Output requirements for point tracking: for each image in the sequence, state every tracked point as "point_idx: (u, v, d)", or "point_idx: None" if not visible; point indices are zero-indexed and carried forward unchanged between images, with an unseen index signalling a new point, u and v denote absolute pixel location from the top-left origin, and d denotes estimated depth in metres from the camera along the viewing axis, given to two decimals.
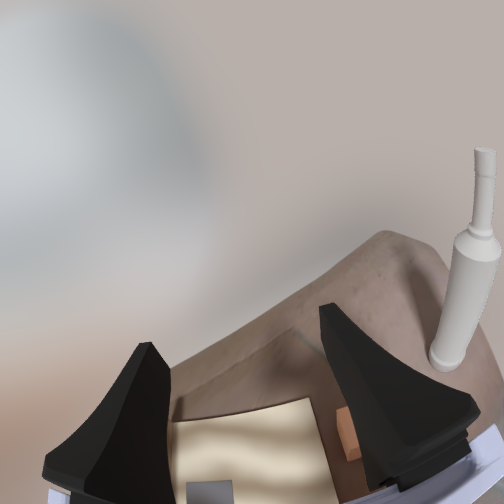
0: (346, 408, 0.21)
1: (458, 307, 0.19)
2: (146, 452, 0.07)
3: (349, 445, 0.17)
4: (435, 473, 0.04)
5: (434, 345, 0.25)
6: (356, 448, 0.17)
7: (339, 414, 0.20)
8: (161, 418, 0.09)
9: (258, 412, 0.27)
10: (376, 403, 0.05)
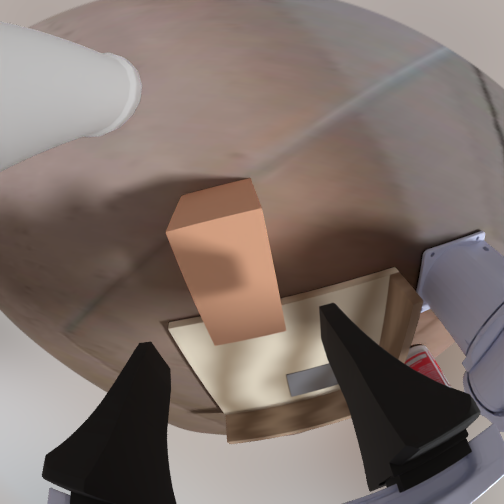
0: (213, 335, 0.16)
1: (8, 153, 0.04)
2: (146, 452, 0.07)
3: (279, 331, 0.16)
4: (436, 473, 0.04)
5: None
6: None
7: (223, 342, 0.16)
8: (161, 418, 0.09)
9: (196, 369, 0.24)
10: (376, 403, 0.05)
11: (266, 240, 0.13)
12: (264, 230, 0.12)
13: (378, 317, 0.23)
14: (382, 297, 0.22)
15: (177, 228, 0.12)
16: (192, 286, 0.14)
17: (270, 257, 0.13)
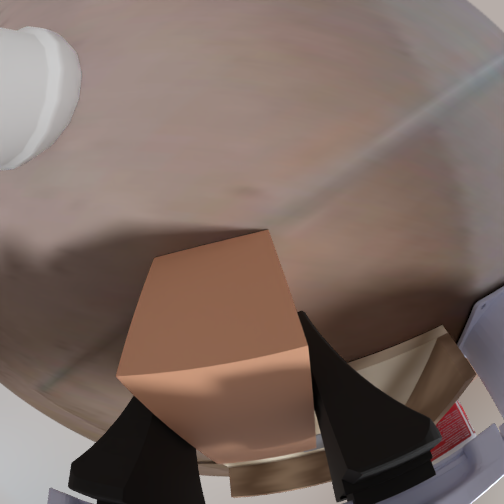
0: (216, 459, 0.09)
1: None
2: (178, 453, 0.07)
3: (306, 449, 0.09)
4: (393, 494, 0.04)
5: None
6: None
7: (230, 462, 0.09)
8: None
9: None
10: (328, 419, 0.05)
11: (308, 384, 0.06)
12: (306, 373, 0.06)
13: (413, 378, 0.17)
14: (423, 360, 0.15)
15: (136, 373, 0.05)
16: (179, 429, 0.07)
17: (310, 400, 0.07)
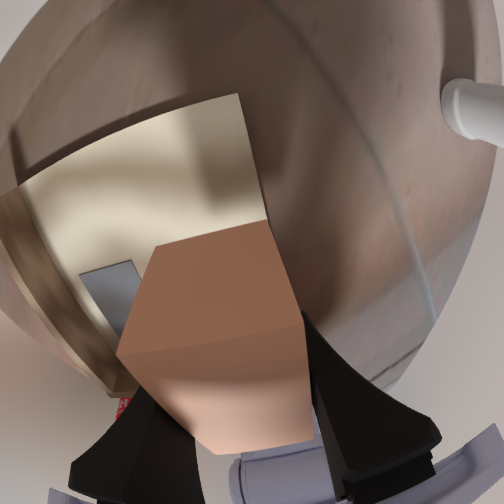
0: (214, 449, 0.09)
1: None
2: (178, 453, 0.07)
3: (304, 440, 0.10)
4: (393, 494, 0.04)
5: (466, 97, 0.12)
6: None
7: (227, 453, 0.10)
8: None
9: (139, 127, 0.14)
10: (328, 419, 0.05)
11: (304, 365, 0.06)
12: (303, 353, 0.06)
13: None
14: None
15: (135, 351, 0.06)
16: (176, 414, 0.07)
17: (307, 383, 0.07)
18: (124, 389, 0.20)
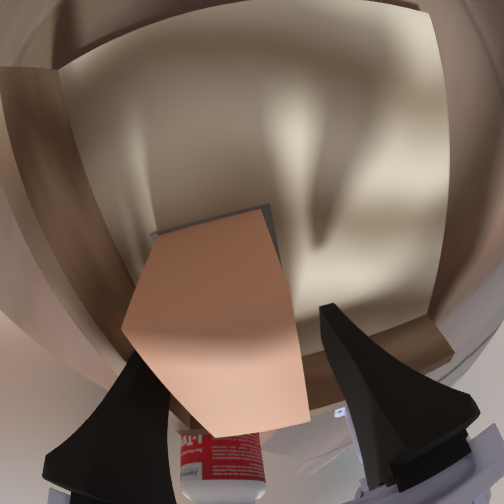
0: (213, 431, 0.10)
1: None
2: (146, 452, 0.07)
3: (301, 422, 0.10)
4: (435, 473, 0.04)
5: None
6: None
7: (226, 435, 0.10)
8: (161, 418, 0.09)
9: (321, 2, 0.07)
10: (376, 403, 0.05)
11: (294, 338, 0.07)
12: (292, 325, 0.07)
13: (369, 329, 0.16)
14: (402, 318, 0.16)
15: (139, 324, 0.06)
16: (177, 391, 0.08)
17: (298, 358, 0.08)
18: None
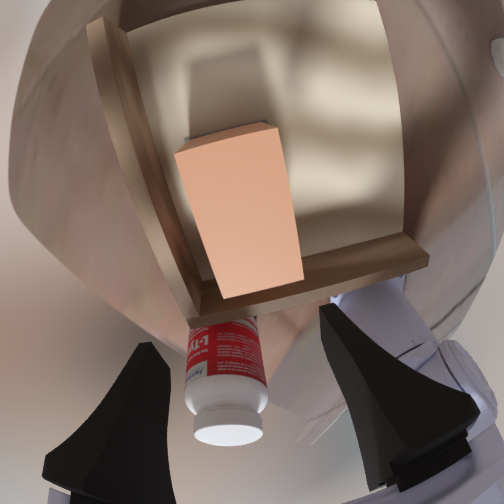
0: (222, 285, 0.14)
1: None
2: (146, 452, 0.07)
3: (296, 280, 0.15)
4: (435, 473, 0.04)
5: None
6: None
7: (233, 294, 0.15)
8: (161, 418, 0.09)
9: None
10: (376, 403, 0.05)
11: (282, 164, 0.11)
12: (280, 152, 0.11)
13: (352, 237, 0.20)
14: (380, 231, 0.20)
15: (187, 149, 0.11)
16: (200, 219, 0.12)
17: (287, 184, 0.12)
18: (218, 309, 0.17)
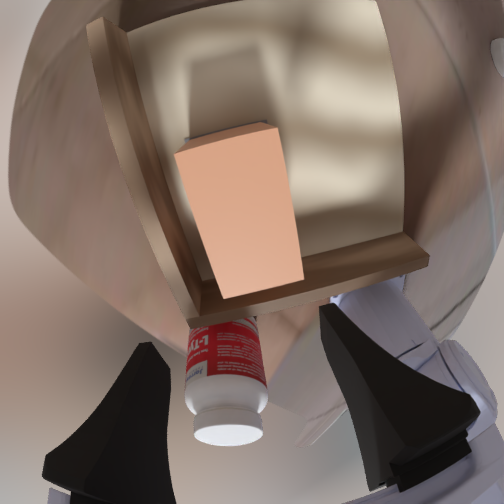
0: (222, 285, 0.14)
1: None
2: (146, 452, 0.07)
3: (296, 280, 0.15)
4: (435, 473, 0.04)
5: None
6: None
7: (233, 294, 0.15)
8: (161, 418, 0.09)
9: None
10: (376, 403, 0.05)
11: (282, 164, 0.11)
12: (280, 152, 0.11)
13: (352, 237, 0.20)
14: (380, 231, 0.20)
15: (187, 149, 0.11)
16: (200, 219, 0.12)
17: (287, 184, 0.12)
18: (218, 309, 0.17)
